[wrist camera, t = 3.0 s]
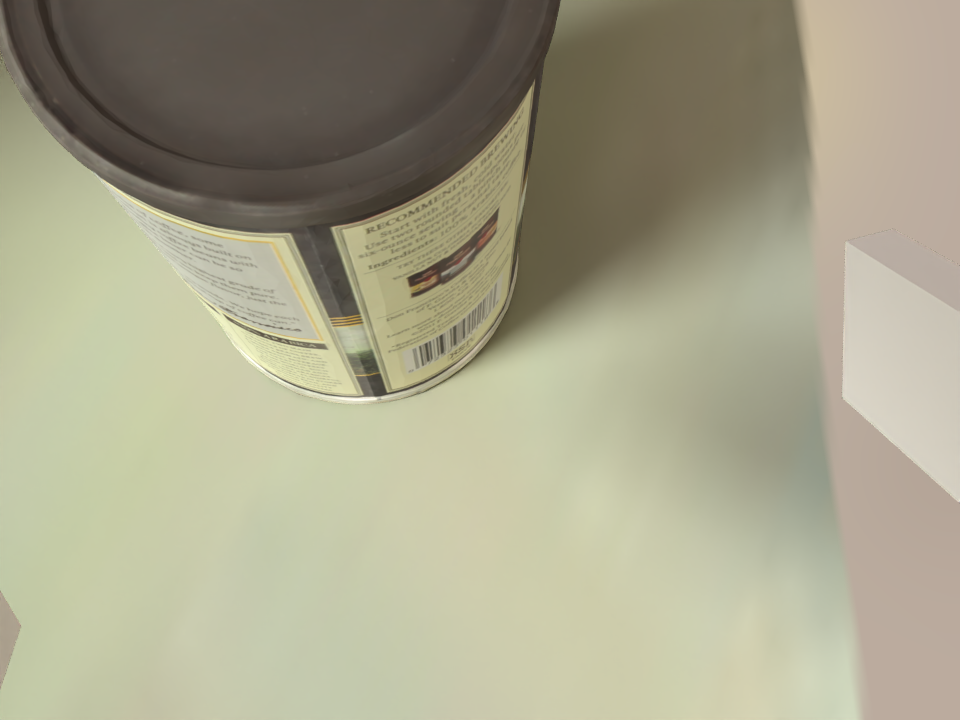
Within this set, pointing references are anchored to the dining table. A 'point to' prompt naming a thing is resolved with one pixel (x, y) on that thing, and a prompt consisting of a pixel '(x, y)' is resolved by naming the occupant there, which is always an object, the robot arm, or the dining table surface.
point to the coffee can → (309, 165)
